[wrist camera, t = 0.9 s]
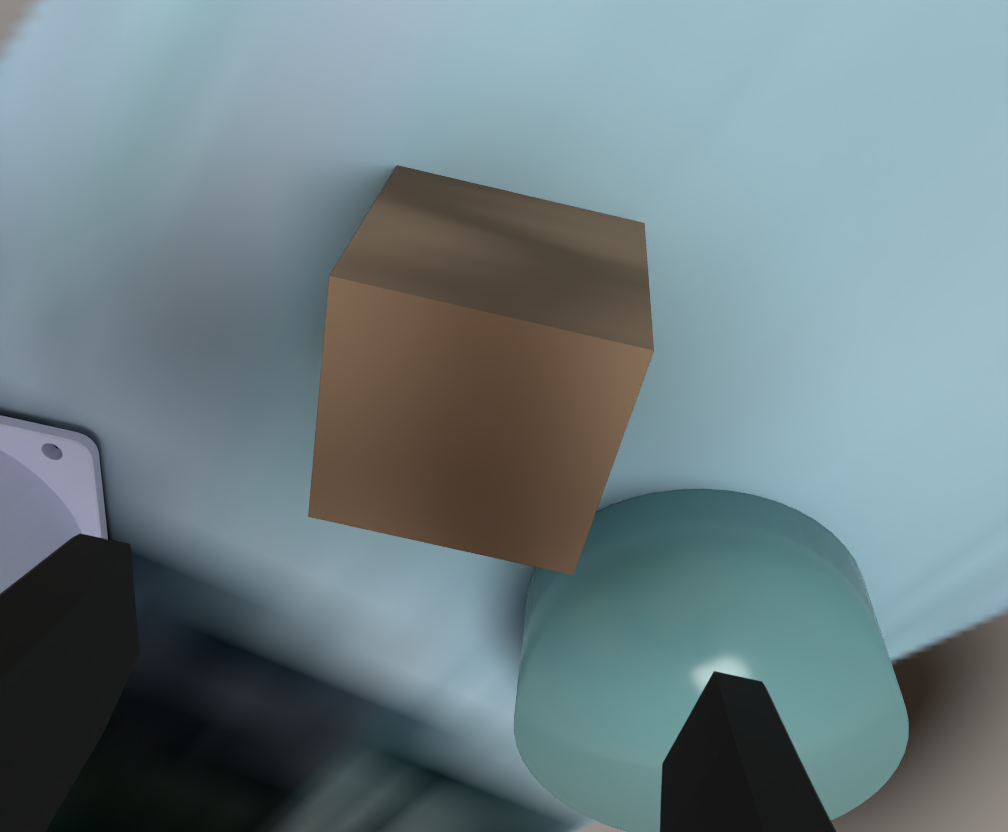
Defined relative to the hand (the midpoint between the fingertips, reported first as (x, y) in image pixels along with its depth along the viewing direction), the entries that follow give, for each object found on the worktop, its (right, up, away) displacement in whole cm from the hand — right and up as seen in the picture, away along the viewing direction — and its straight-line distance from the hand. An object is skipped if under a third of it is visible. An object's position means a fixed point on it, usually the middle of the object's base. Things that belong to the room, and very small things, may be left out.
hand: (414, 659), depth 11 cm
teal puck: (+6, -2, +13) cm, 14 cm away
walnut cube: (+1, +5, +8) cm, 10 cm away
